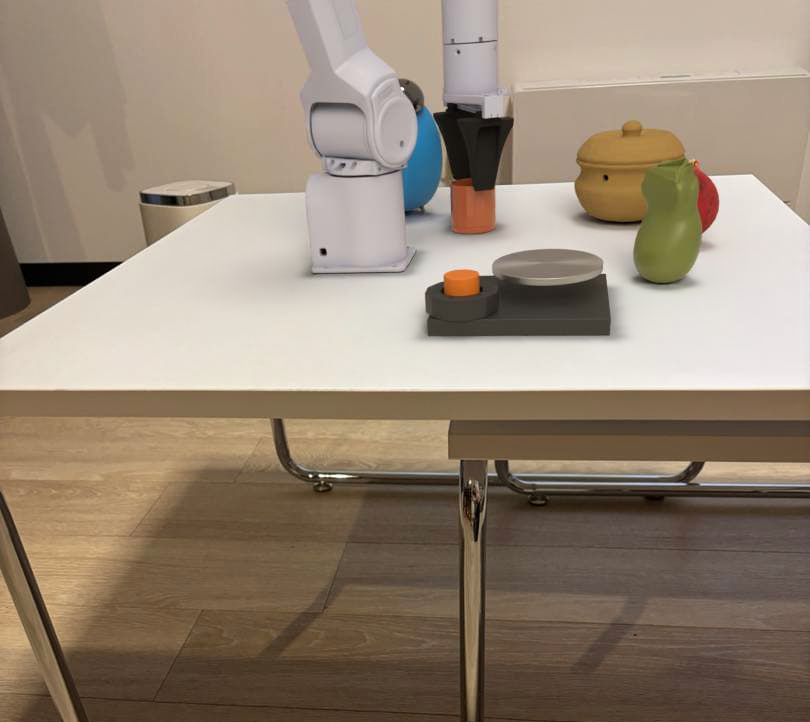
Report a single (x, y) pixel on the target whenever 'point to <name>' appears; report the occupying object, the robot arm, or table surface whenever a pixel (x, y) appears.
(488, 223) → the orange plastic cup
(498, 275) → the scale pan
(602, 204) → the pot
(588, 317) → the scale
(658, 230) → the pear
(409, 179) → the alarm clock
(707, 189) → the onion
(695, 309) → the table surface
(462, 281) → the tare button
